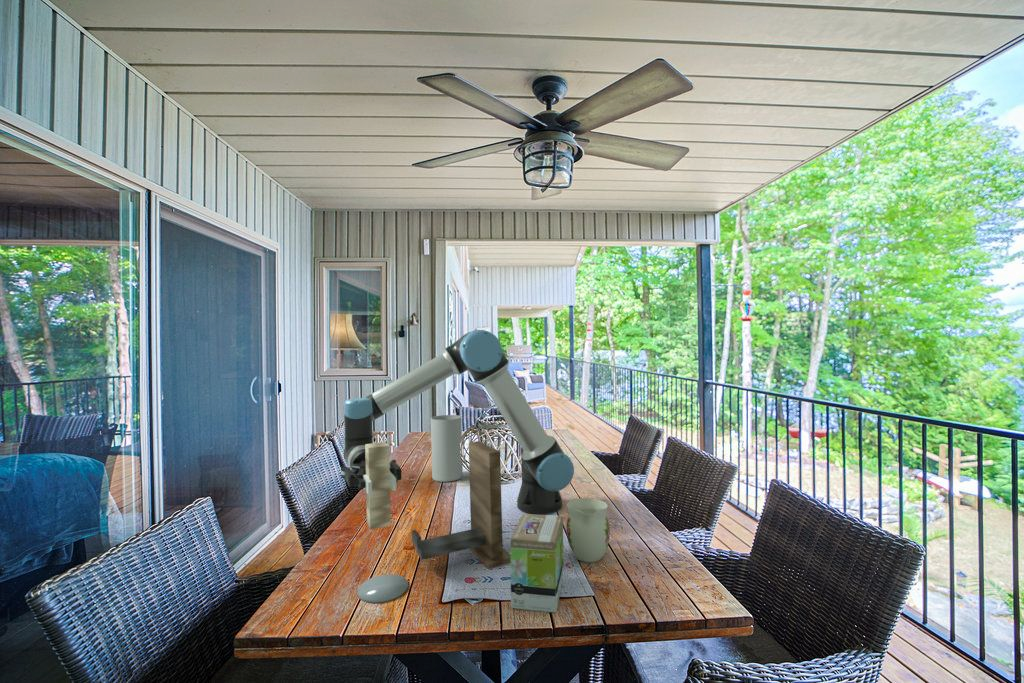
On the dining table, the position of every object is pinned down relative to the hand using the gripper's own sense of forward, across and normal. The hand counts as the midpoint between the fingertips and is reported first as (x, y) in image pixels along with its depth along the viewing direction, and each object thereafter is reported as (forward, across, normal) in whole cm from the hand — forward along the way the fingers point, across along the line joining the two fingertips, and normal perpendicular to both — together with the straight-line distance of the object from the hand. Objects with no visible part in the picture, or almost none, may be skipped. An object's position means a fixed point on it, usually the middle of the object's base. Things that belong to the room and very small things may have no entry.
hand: (382, 486), depth 100 cm
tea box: (+13, -31, -25) cm, 42 cm away
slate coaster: (-5, -1, -25) cm, 25 cm away
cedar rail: (-5, 0, -10) cm, 11 cm away
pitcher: (+4, -51, -25) cm, 57 cm away
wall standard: (-10, -21, -25) cm, 34 cm away
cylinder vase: (-80, -41, -25) cm, 94 cm away
